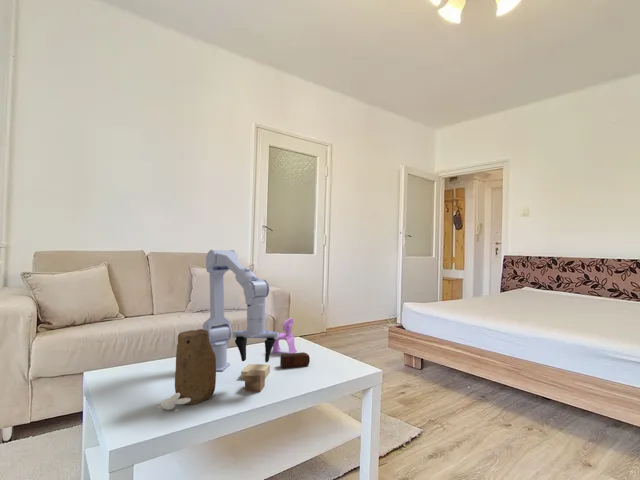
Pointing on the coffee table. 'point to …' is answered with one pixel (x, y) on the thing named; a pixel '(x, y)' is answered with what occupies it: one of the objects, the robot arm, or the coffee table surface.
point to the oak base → (255, 367)
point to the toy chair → (286, 337)
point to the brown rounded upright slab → (195, 366)
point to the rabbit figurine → (173, 402)
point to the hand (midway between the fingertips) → (255, 360)
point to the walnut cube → (255, 380)
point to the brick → (294, 360)
